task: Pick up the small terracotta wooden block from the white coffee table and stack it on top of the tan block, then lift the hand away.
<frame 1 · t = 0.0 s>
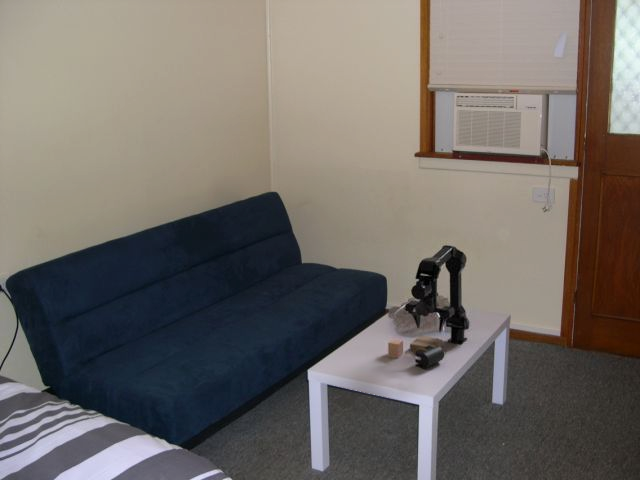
hand: (429, 329, 297), 15 cm above the table, tool pointing down, fingers open, 9 cm apart
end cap: (429, 365, 300), on the table
terracotta block: (395, 355, 311), on the table
tan block: (426, 348, 316), on the table
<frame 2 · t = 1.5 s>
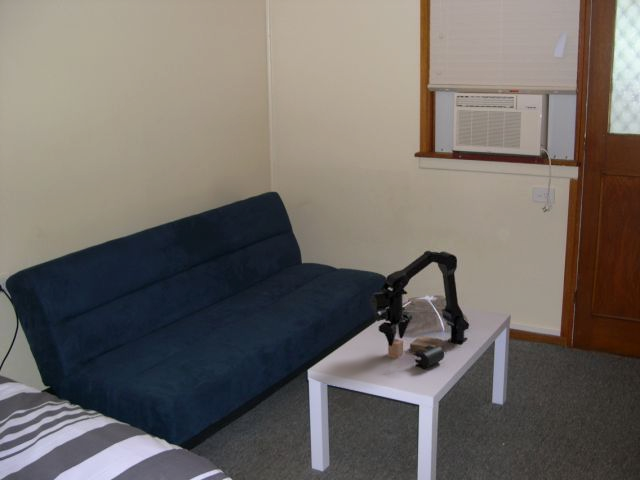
hand: (395, 341, 309), 6 cm above the table, tool pointing down, fingers open, 9 cm apart
nothing on the table moved.
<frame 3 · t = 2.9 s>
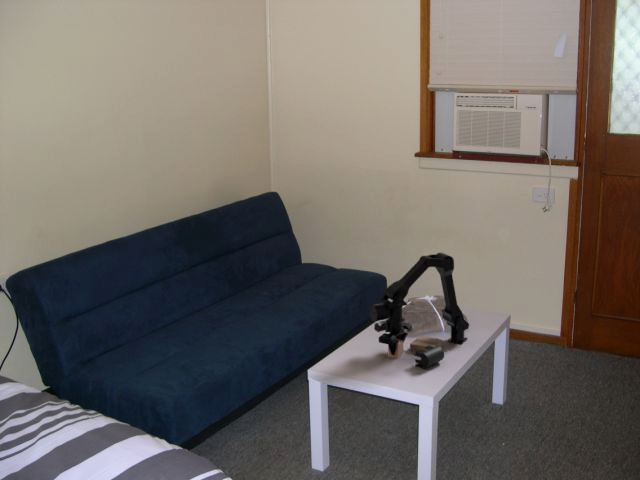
hand: (395, 352, 311), 1 cm above the table, tool pointing down, fingers closed on terracotta block, 4 cm apart
terracotta block: (395, 355, 311), on the table, touching gripper
everything else where it was.
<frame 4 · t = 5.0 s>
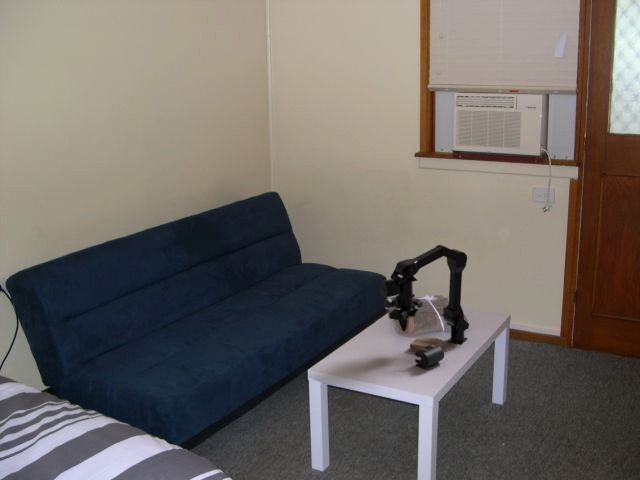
hand: (406, 328, 310), 10 cm above the table, tool pointing down, fingers closed on terracotta block, 4 cm apart
terracotta block: (406, 331, 310), point 9 cm above the table, touching gripper
everything else where it was.
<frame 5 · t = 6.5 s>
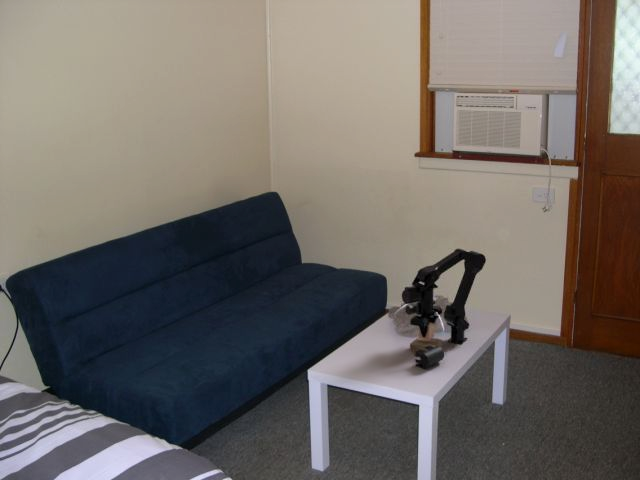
hand: (426, 335, 315), 6 cm above the table, tool pointing down, fingers closed on terracotta block, 4 cm apart
terracotta block: (426, 337, 315), point 5 cm above the table, touching gripper
everything else where it was.
when the fingers open (5 cm above the table, at t = 7.3 s): terracotta block drops 1 cm, resting on tan block.
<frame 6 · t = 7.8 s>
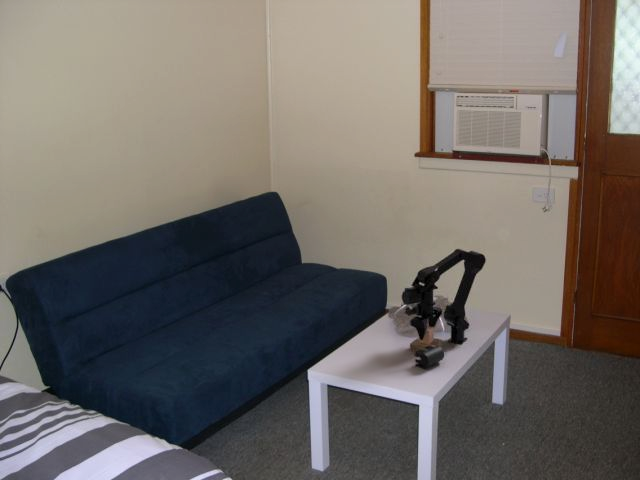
hand: (426, 336, 315), 5 cm above the table, tool pointing down, fingers open, 9 cm apart
terracotta block: (426, 341, 316), point 3 cm above the table, touching tan block
everything else where it was.
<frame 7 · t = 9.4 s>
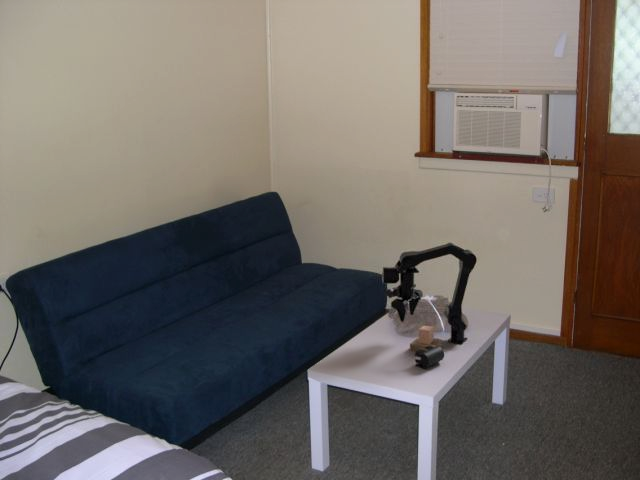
hand: (406, 318, 320), 11 cm above the table, tool pointing down, fingers open, 9 cm apart
nothing on the table moved.
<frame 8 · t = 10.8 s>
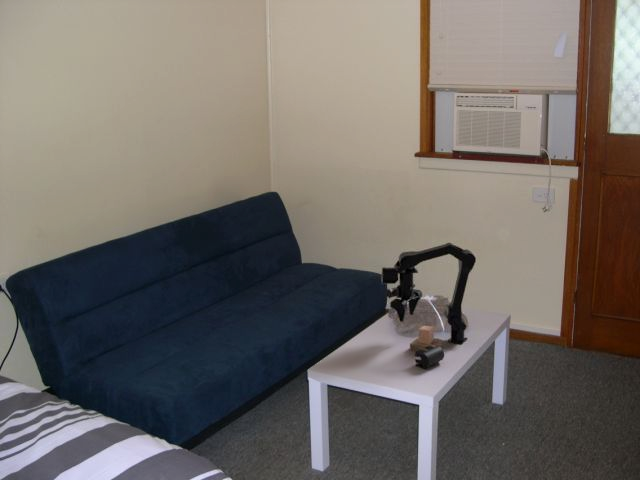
hand: (406, 318, 320), 11 cm above the table, tool pointing down, fingers open, 9 cm apart
nothing on the table moved.
at the end: terracotta block 0.0 cm off-centre on the tan block, point 3.0 cm above the tan block's base; terracotta block touching tan block; terracotta block tilted 0° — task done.
